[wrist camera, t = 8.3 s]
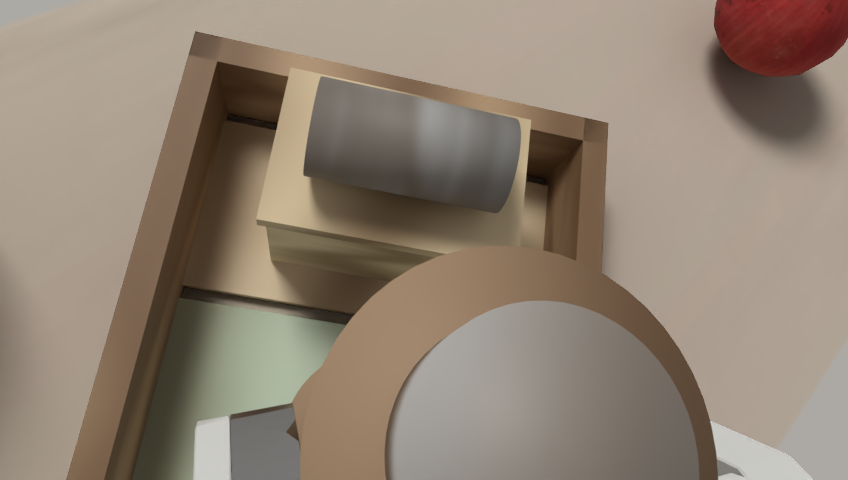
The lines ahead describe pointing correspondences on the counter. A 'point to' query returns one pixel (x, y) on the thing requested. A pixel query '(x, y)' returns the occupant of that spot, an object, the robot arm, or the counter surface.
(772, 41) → the onion
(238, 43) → the bay
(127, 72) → the counter surface
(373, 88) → the block with grey roller
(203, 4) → the counter surface
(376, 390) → the brown wooden pepper mill
